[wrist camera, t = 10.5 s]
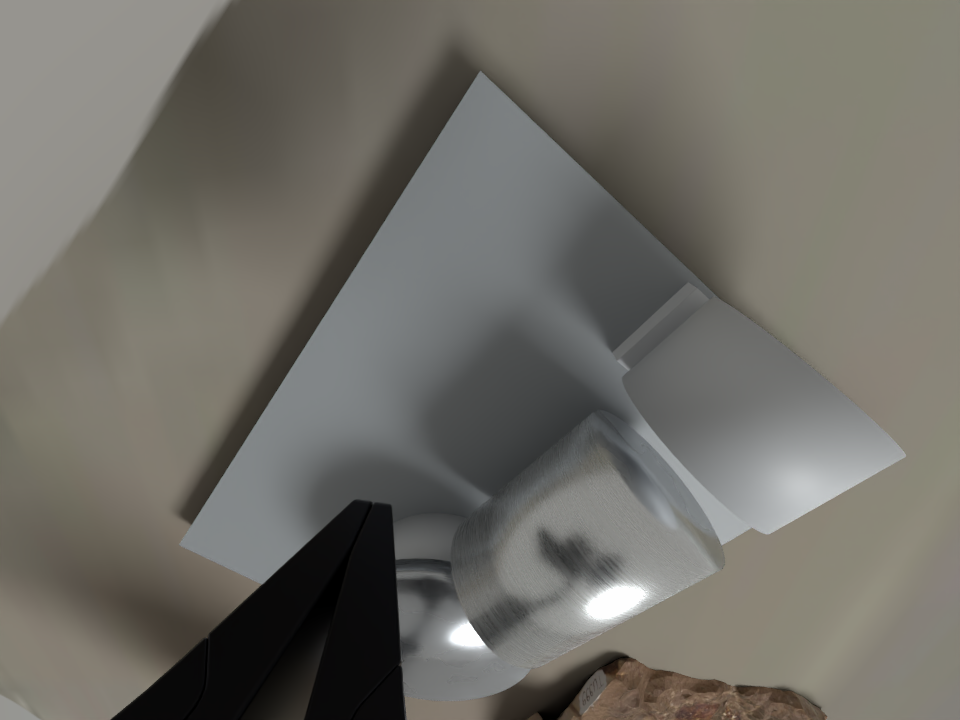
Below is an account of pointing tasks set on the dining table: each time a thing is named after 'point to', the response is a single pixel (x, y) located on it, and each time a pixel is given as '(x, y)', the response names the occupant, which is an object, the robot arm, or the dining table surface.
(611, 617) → the elbow
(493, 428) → the grey plate with knobs
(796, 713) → the fossil
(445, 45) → the dining table surface
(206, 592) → the dining table surface
